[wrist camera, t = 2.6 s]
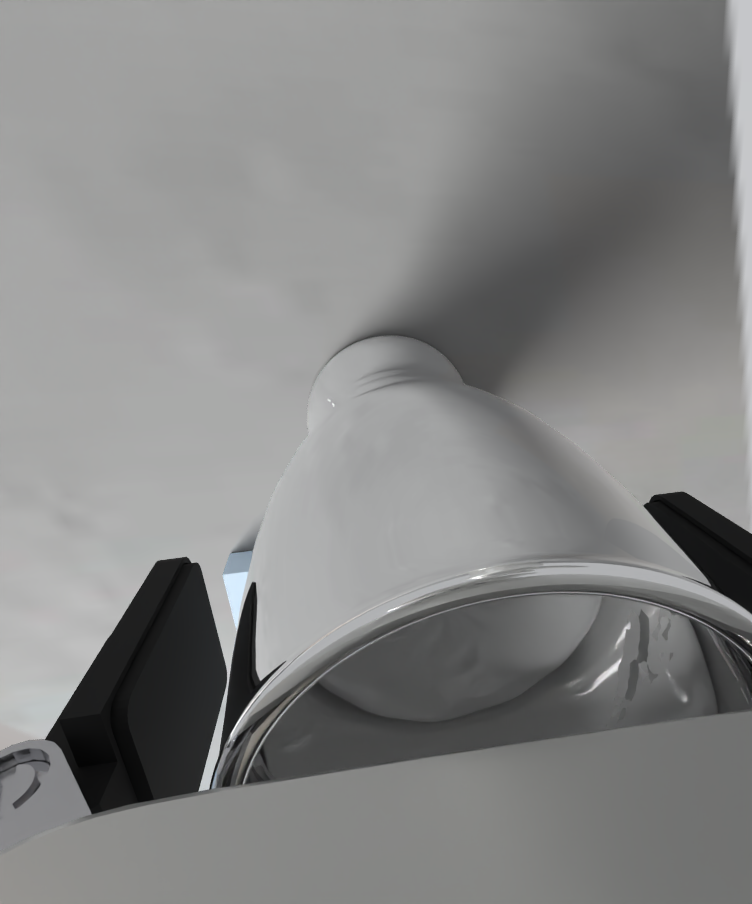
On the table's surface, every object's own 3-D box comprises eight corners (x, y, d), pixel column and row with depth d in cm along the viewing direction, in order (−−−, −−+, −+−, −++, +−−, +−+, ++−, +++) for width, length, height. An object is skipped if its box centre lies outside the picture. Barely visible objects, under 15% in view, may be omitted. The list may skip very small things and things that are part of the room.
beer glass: (469, 305, 18) (906, 476, 4) (486, 482, 21) (793, 951, 7) (275, 340, 18) (73, 628, 4) (316, 513, 21) (273, 1049, 7)
